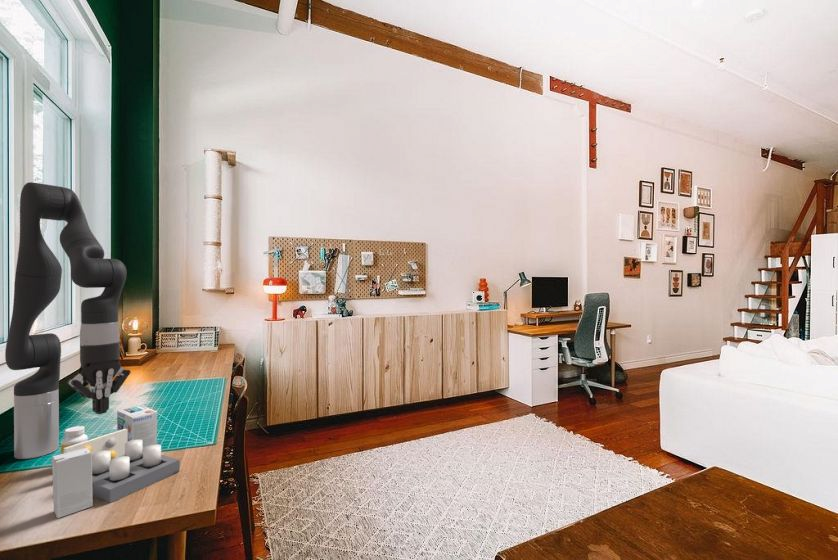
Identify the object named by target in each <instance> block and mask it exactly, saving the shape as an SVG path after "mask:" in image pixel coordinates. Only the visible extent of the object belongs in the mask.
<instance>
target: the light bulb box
mask: <svg viewBox="0 0 838 560" xmlns="http://www.w3.org/2000/svg"><path fill="white" fill-rule="evenodd" d="M116 417H117V418H116V425H117V427H116V429H117V430H116V431H119V430H123V429H127V433H128V441H132V440H142V445H143V448H145V447H147V446H150V445H158V411H157V410H154V409H152V408H149V407H147V406H144V405H142V404H141V405H137V406H133V407H128V408H125V409H120V410H117V413H116Z"/></svg>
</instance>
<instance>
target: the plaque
mask: <svg viewBox="0 0 838 560" xmlns="http://www.w3.org/2000/svg"><path fill="white" fill-rule="evenodd" d="M126 442H128V433H127V429H123V430H119V431H117V430H116V431H113V432H111V433H107V434H104V435H100V436H98V437H95V438H92V439H88V441H85V442H81V443H78V444H75V445H72V446H69V447H66V448H64V453H68V452H72V451H75V450H79V449H83V448H88V450H89V451H90V452H91V455H92V454H94V453H96V452H100V451H111V459H114V458H117V457H119V456H122V455H125V443H126Z"/></svg>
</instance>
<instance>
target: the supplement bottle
mask: <svg viewBox="0 0 838 560" xmlns="http://www.w3.org/2000/svg"><path fill="white" fill-rule="evenodd" d="M64 436H65V437H64V438H63V439H61V441H60V454H64V448H66V447H69V446H72V445H75V444H78V443H81V442H85V441H88V440H89V438H88V435H87V434H85V426H84V425H75V426H73V427H68V428H66V429H64Z"/></svg>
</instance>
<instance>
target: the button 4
mask: <svg viewBox="0 0 838 560" xmlns="http://www.w3.org/2000/svg"><path fill="white" fill-rule="evenodd" d="M161 455H162V445H161V444H157V445H150V446H147V447H145V448H143V466H145V467H150V466H155V465H157V464H159V463H161Z"/></svg>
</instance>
